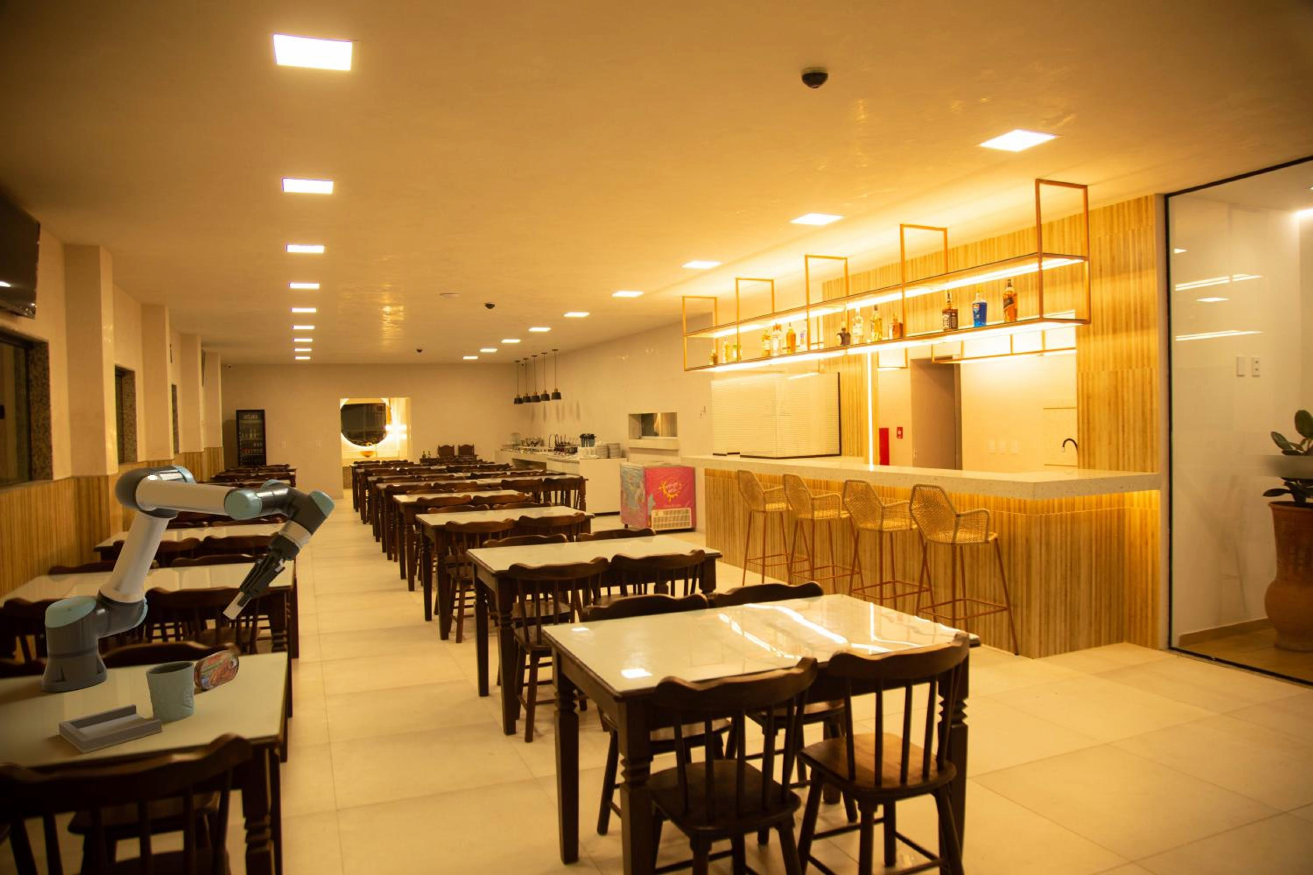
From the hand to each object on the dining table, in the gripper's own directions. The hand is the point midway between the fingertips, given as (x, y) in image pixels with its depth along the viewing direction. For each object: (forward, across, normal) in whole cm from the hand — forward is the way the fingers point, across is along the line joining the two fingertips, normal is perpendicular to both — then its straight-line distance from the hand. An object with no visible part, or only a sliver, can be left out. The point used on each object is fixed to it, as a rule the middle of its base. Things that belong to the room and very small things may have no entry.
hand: (228, 616), depth 216 cm
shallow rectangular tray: (+35, 0, +4) cm, 35 cm away
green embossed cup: (+25, 0, -6) cm, 26 cm away
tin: (+13, +18, -18) cm, 29 cm away
